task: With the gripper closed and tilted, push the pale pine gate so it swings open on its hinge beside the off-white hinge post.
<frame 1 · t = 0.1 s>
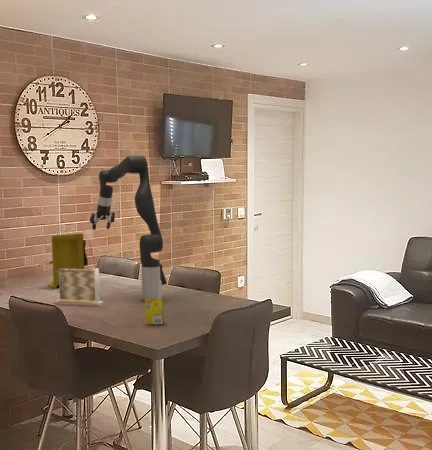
hand: (100, 229, 343), 31 cm above the table, tool tilted 20°, fingers open, 8 cm apart
olive angular piece: (67, 285, 339), on the table
crayon box: (154, 324, 255), on the table
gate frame: (97, 304, 291), on the table
door stopper: (157, 284, 340), on the table
gate: (76, 284, 292), point 10 cm above the table, hinge at 0.0°
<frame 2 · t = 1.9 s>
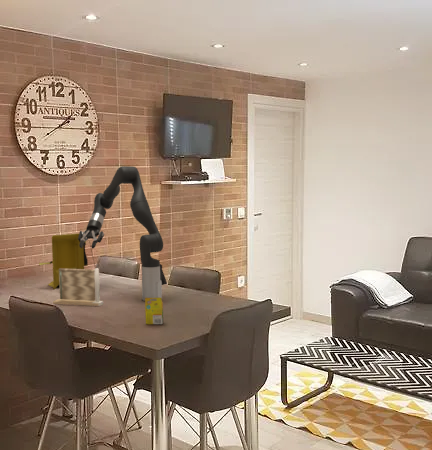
hand: (86, 247, 318), 24 cm above the table, tool tilted 45°, fingers open, 6 cm apart
nothing on the table moved.
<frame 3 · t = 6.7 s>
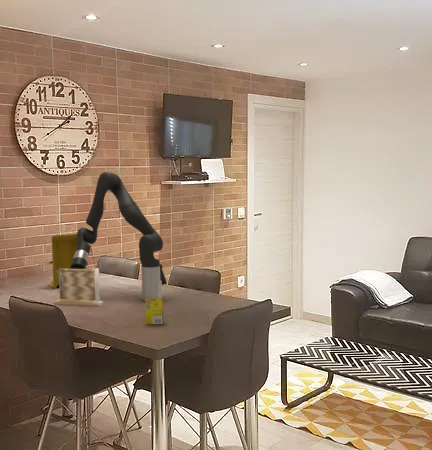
hand: (72, 289, 295), 7 cm above the table, tool tilted 45°, fingers closed
gate: (76, 284, 292), point 10 cm above the table, hinge at 0.2°, touching gripper
everything else where it was.
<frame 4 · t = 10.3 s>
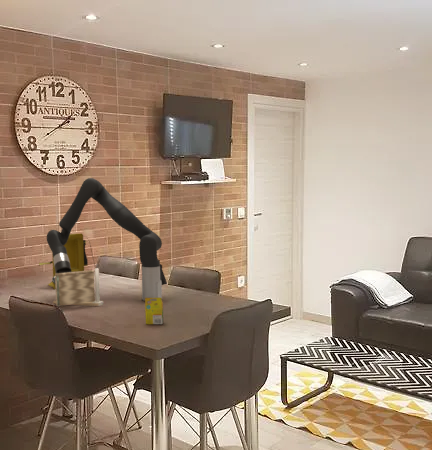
hand: (68, 293, 284), 7 cm above the table, tool tilted 45°, fingers closed
gate: (75, 287, 285), point 10 cm above the table, hinge at 42.6°, touching gripper
everything else where it was.
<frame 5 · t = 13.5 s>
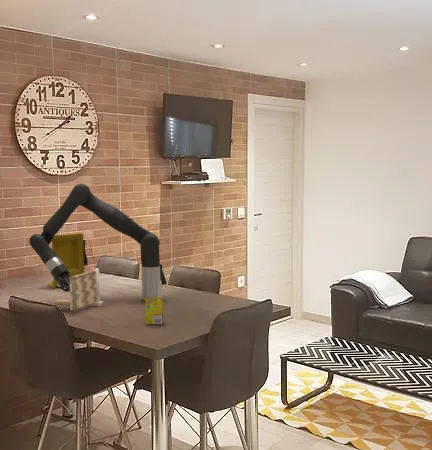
hand: (77, 296, 278), 7 cm above the table, tool tilted 45°, fingers closed
gate: (83, 289, 280), point 10 cm above the table, hinge at 79.0°, touching gripper
everything else where it was.
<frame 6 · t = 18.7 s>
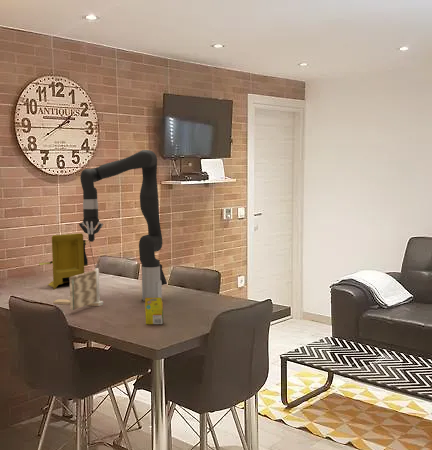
hand: (91, 241, 306), 29 cm above the table, tool pointing down, fingers closed
gate: (83, 289, 280), point 10 cm above the table, hinge at 79.2°
everything else where it was.
at the end: gate at +79° (first picture: +0°) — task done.
